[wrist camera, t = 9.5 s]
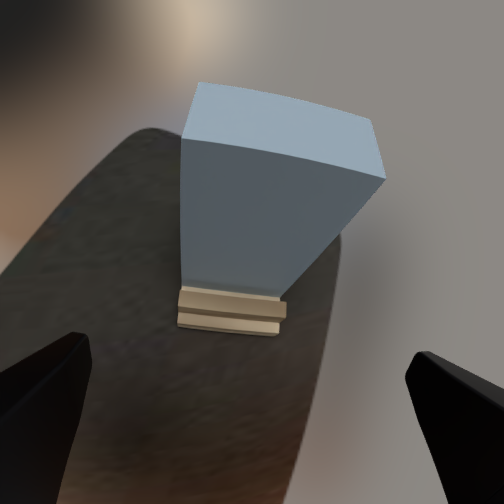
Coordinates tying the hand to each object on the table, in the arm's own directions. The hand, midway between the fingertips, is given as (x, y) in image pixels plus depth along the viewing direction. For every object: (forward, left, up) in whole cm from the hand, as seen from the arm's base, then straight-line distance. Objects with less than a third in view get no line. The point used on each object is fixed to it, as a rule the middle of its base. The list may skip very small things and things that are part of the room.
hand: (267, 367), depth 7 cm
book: (+7, 0, -12) cm, 14 cm away
